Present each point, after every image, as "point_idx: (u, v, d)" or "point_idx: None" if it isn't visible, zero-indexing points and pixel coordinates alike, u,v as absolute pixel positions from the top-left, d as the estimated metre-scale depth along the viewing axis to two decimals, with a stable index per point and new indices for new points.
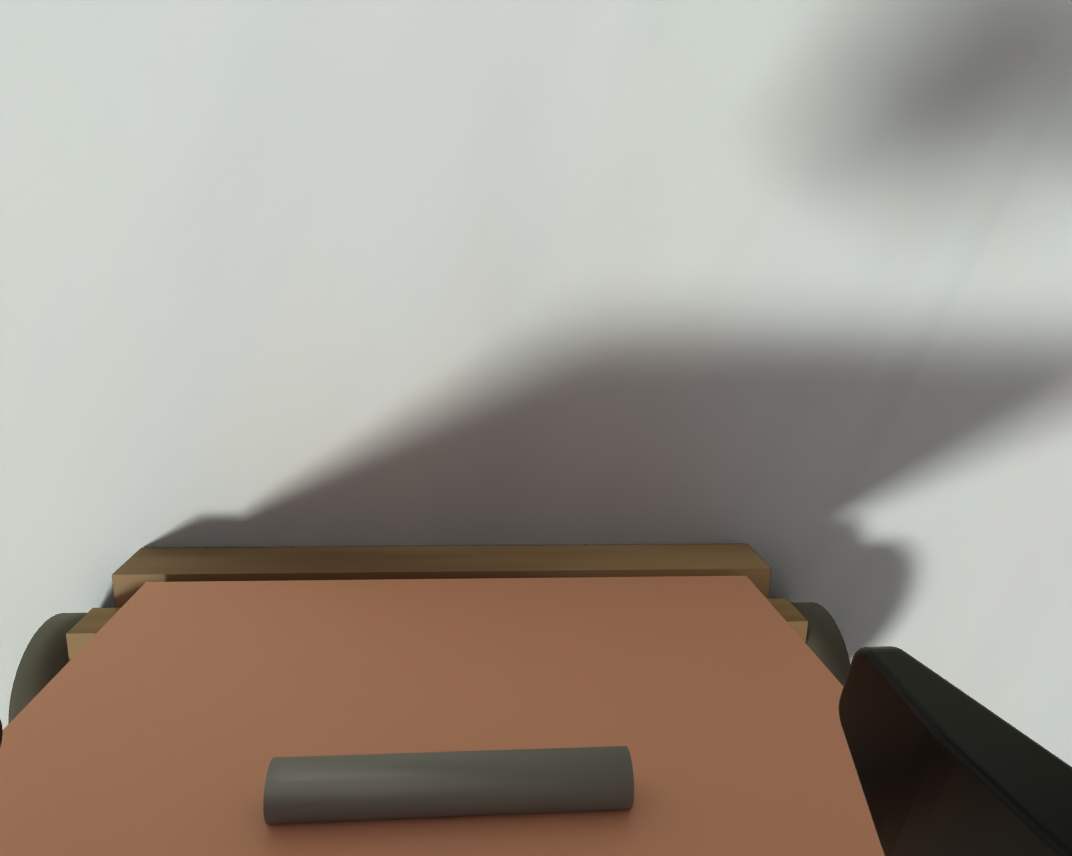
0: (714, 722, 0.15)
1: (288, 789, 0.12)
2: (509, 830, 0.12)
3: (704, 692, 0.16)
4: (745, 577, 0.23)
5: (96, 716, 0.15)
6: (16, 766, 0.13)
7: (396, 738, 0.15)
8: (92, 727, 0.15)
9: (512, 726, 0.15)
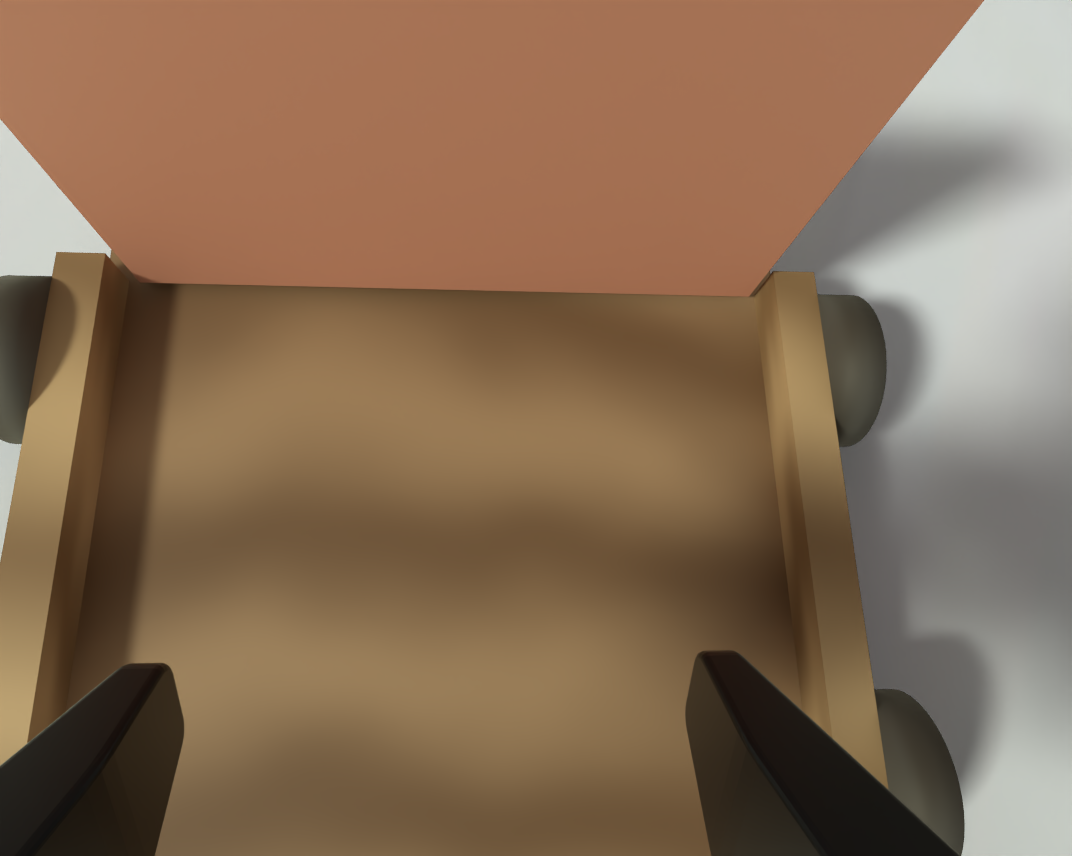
0: None
1: None
2: None
3: None
4: None
5: None
6: None
7: None
8: None
9: None
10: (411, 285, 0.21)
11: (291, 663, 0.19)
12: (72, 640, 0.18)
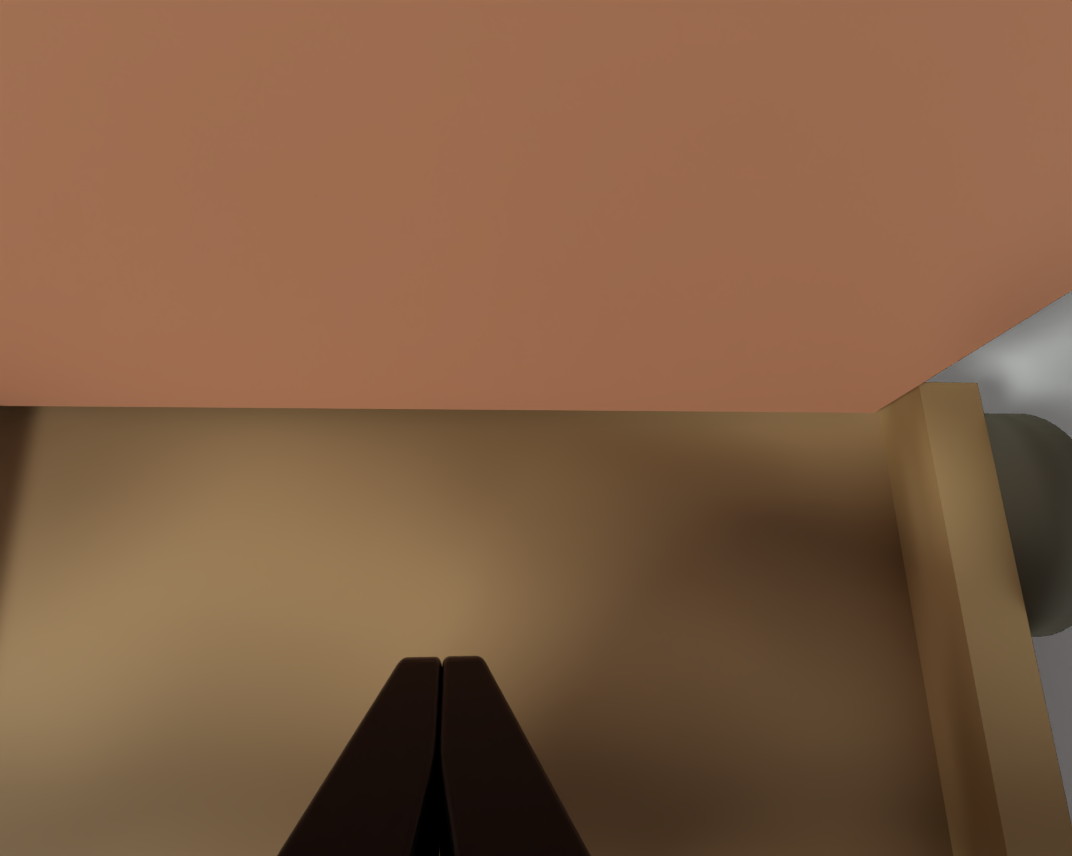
0: None
1: None
2: None
3: None
4: None
5: None
6: None
7: None
8: None
9: None
10: (383, 405, 0.14)
11: None
12: None
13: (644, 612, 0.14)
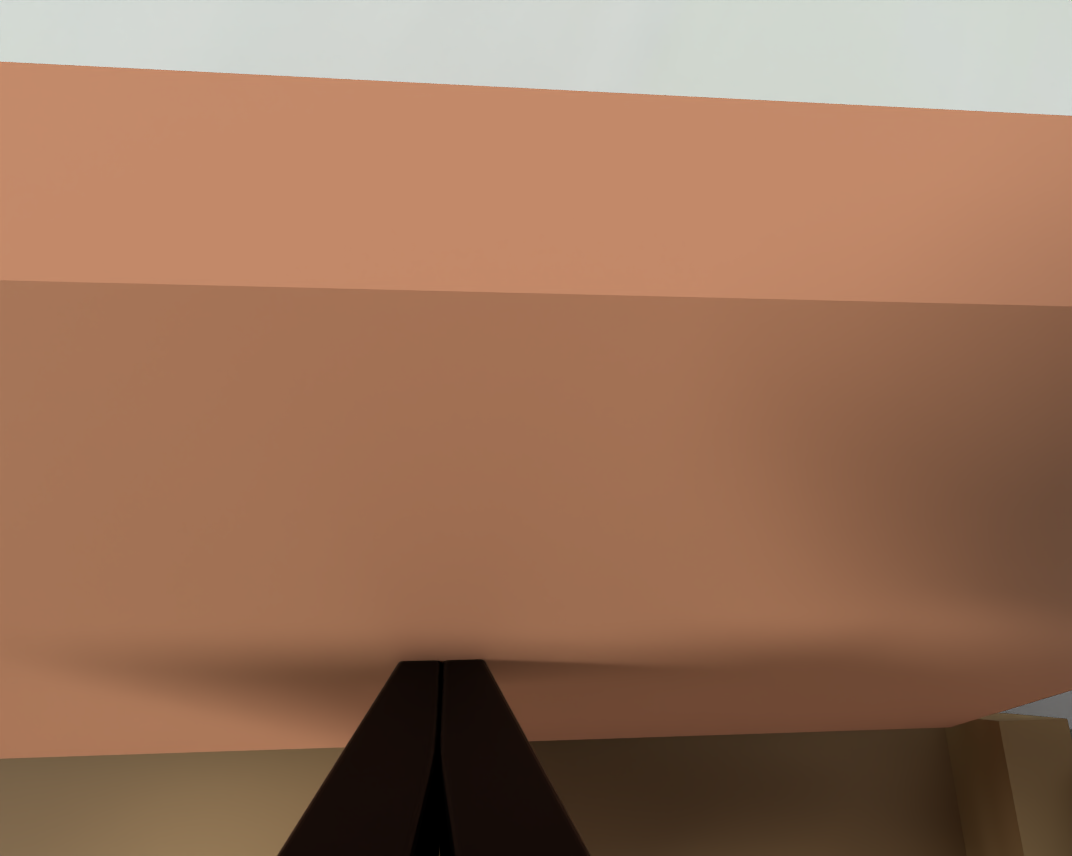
0: None
1: None
2: None
3: None
4: None
5: None
6: None
7: None
8: None
9: None
10: None
11: None
12: None
13: None
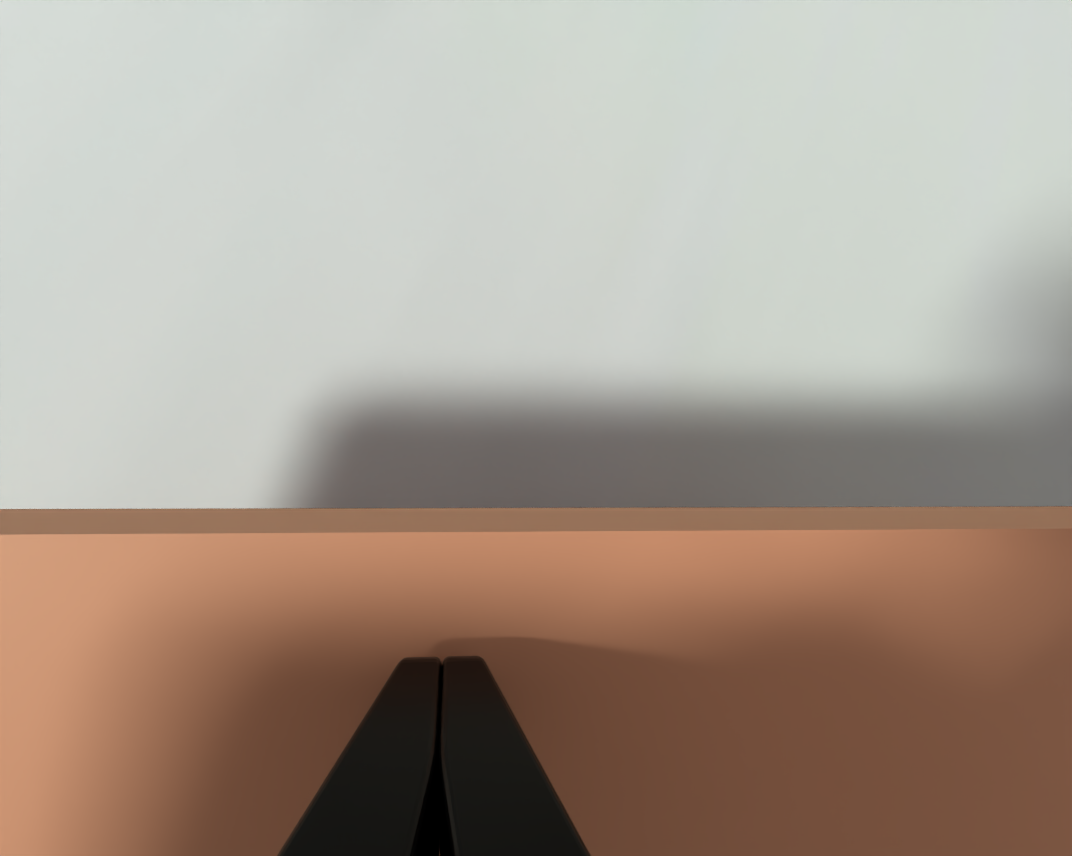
0: None
1: None
2: None
3: None
4: None
5: None
6: None
7: None
8: None
9: None
10: None
11: None
12: None
13: None
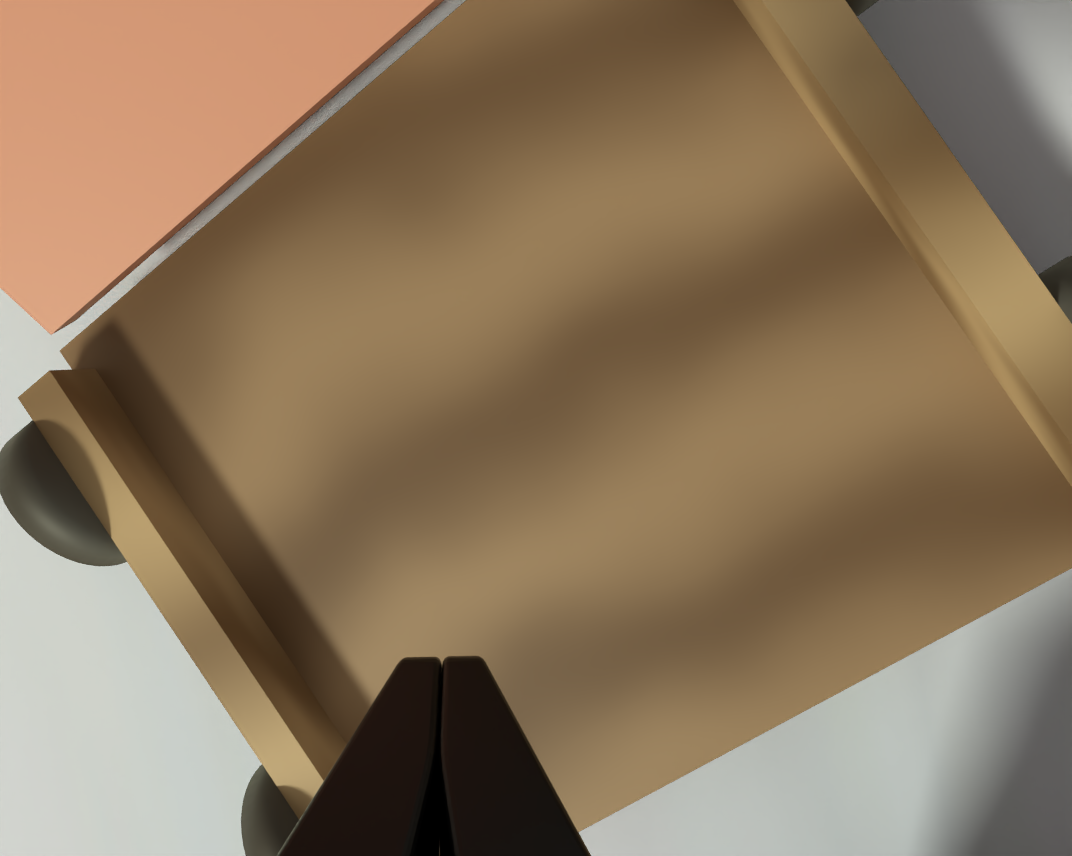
0: None
1: None
2: None
3: None
4: None
5: None
6: None
7: None
8: None
9: None
10: (259, 141, 0.17)
11: (460, 591, 0.19)
12: (292, 672, 0.20)
13: (567, 200, 0.17)
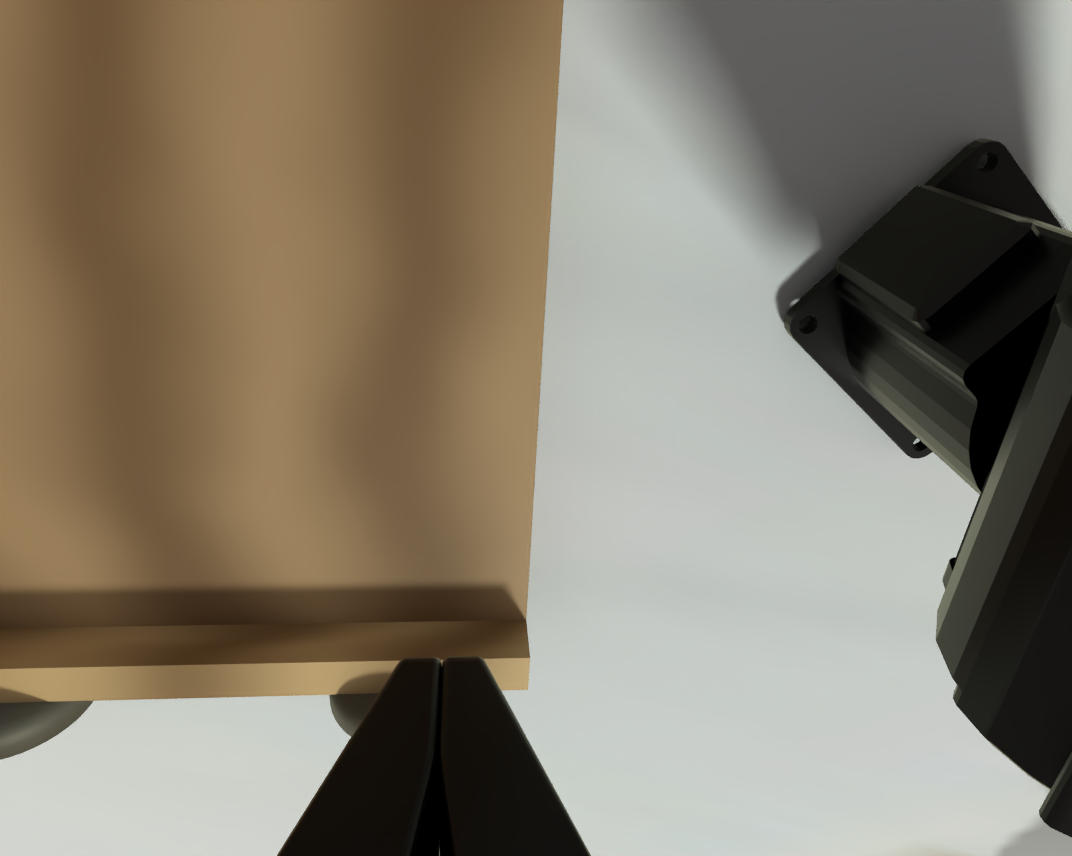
0: None
1: None
2: None
3: None
4: None
5: None
6: None
7: None
8: None
9: None
10: None
11: (269, 468, 0.19)
12: (264, 629, 0.21)
13: None
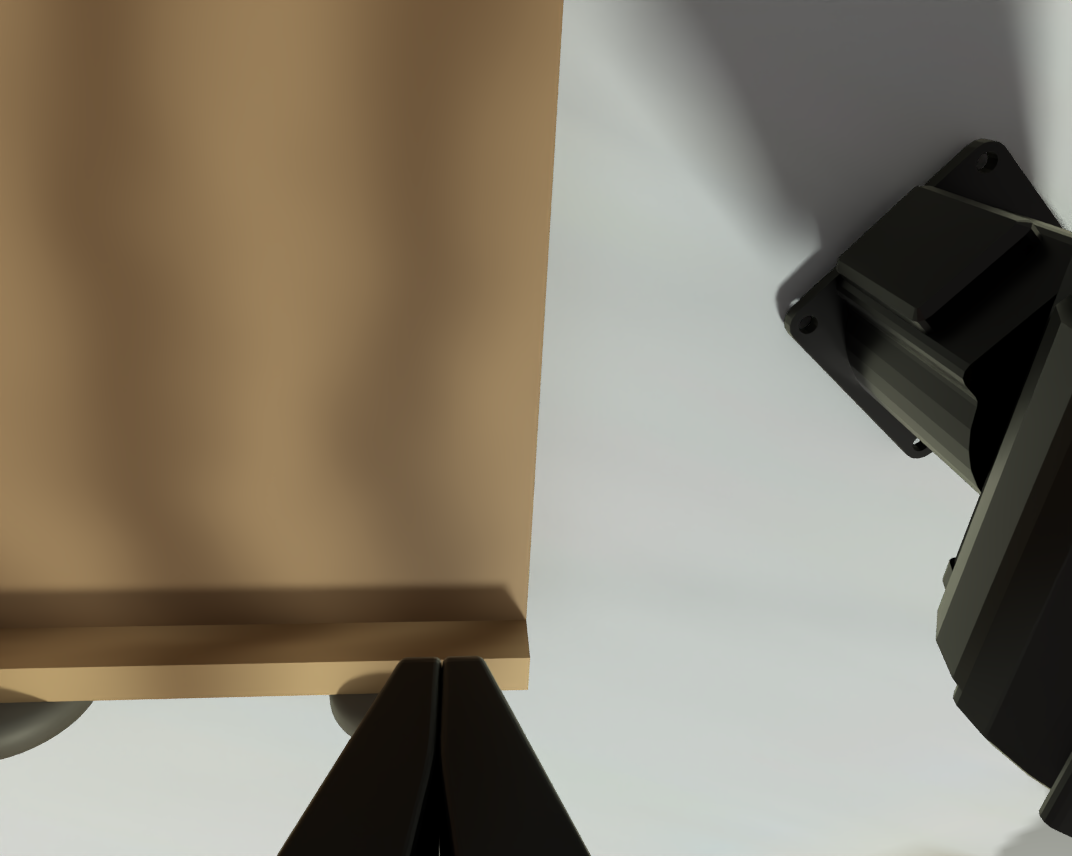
0: None
1: None
2: None
3: None
4: None
5: None
6: None
7: None
8: None
9: None
10: None
11: (269, 468, 0.19)
12: (264, 629, 0.21)
13: None
